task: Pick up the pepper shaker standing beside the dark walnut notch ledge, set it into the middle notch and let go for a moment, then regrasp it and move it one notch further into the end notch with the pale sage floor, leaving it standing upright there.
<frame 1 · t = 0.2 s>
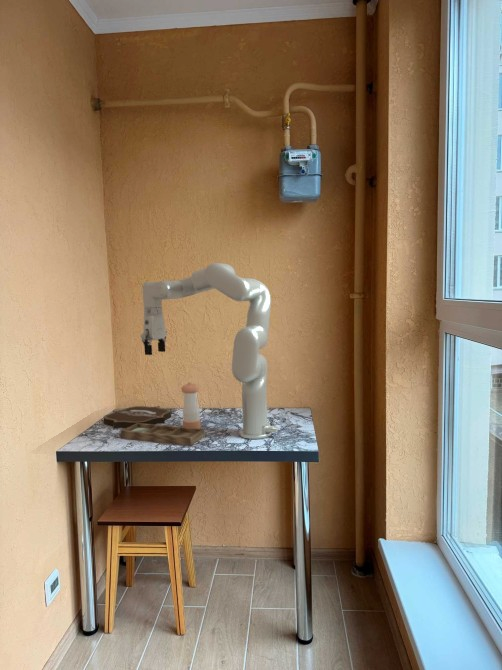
hand: (155, 353, 193), 31 cm above the table, fingers open, 9 cm apart
decorative plaque: (138, 420, 206), on the table
pepper shaker: (191, 428, 190), on the table
notch ledge: (162, 437, 179), on the table
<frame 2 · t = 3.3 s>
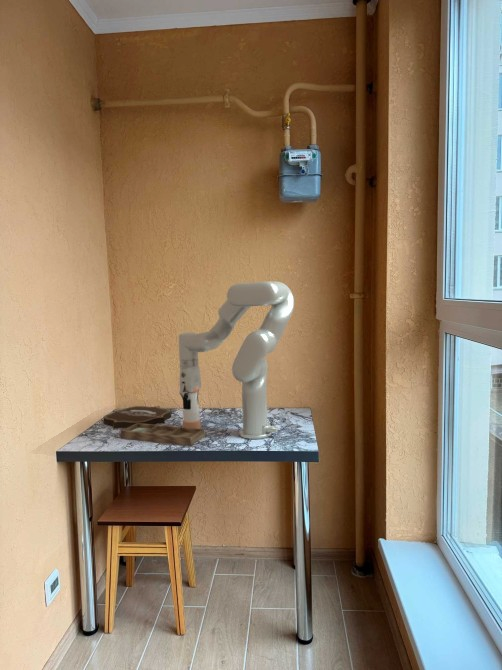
hand: (190, 406, 189), 9 cm above the table, fingers closed on pepper shaker, 5 cm apart
pepper shaker: (191, 428, 190), on the table, touching gripper
everything else where it was.
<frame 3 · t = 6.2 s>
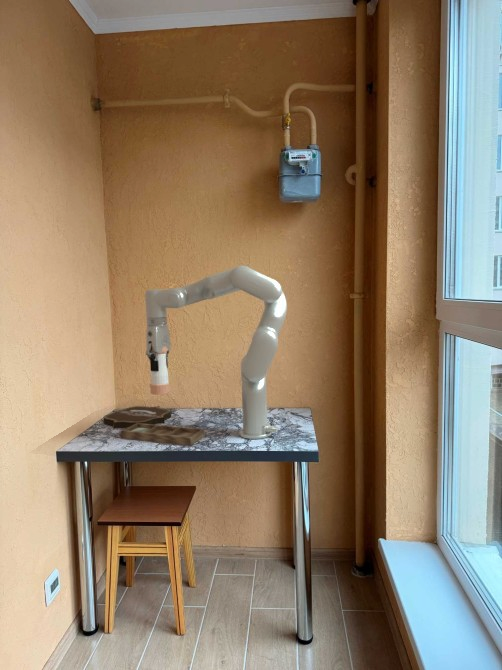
hand: (159, 369, 176), 27 cm above the table, fingers closed on pepper shaker, 5 cm apart
pepper shaker: (160, 393, 177), point 18 cm above the table, touching gripper
everything else where it was.
when the fingers open (11 cm above the table, at t = 9.3 s): pepper shaker stays where it is, resting on notch ledge.
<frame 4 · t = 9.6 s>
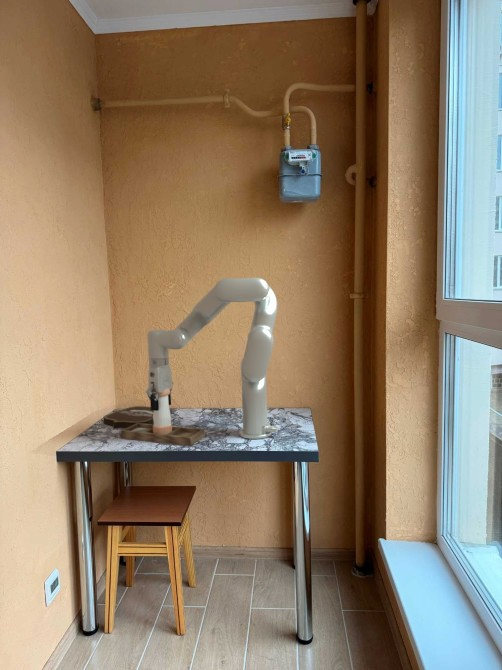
hand: (161, 407, 178), 12 cm above the table, fingers open, 8 cm apart
pepper shaker: (162, 434, 179), point 1 cm above the table, touching notch ledge
everything else where it was.
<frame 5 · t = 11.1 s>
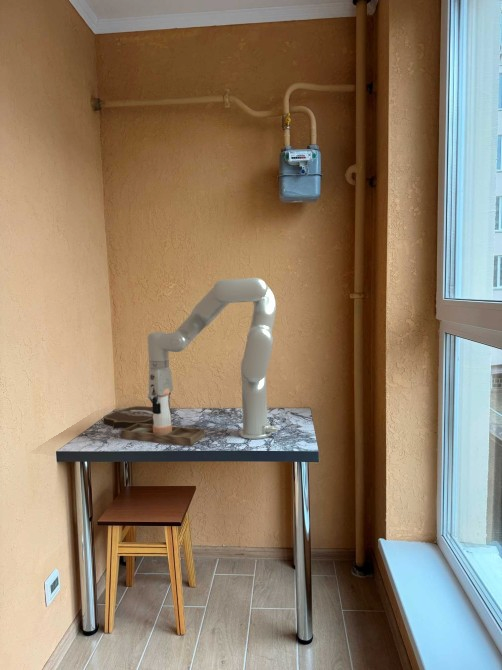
hand: (161, 410, 178), 11 cm above the table, fingers closed on pepper shaker, 5 cm apart
pepper shaker: (162, 434, 179), point 1 cm above the table, touching gripper, notch ledge
everything else where it was.
when the fingers open (11 cm above the table, at t = 16.8 s): pepper shaker stays where it is, resting on notch ledge.
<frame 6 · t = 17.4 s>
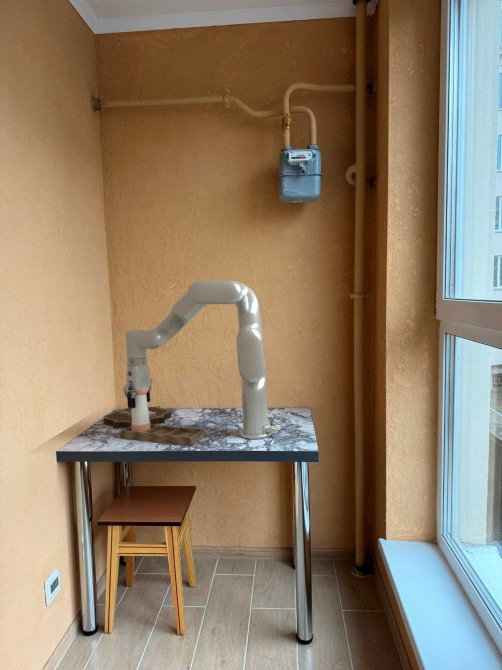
hand: (139, 404, 181), 12 cm above the table, fingers open, 9 cm apart
pepper shaker: (141, 431, 182), point 1 cm above the table, touching notch ledge
everything else where it was.
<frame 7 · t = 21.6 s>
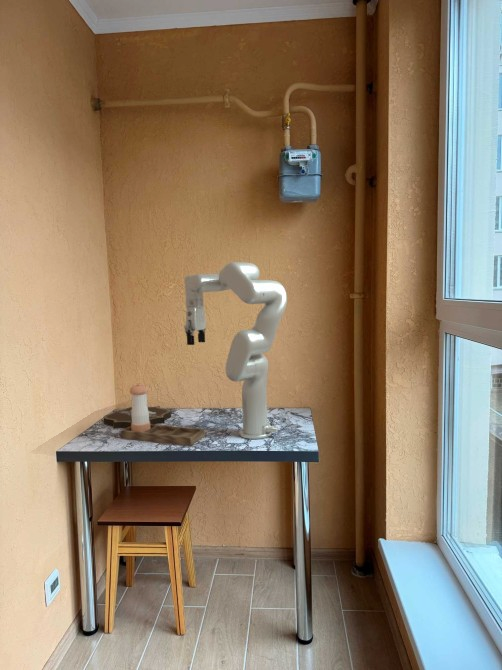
hand: (196, 343, 201), 33 cm above the table, fingers open, 9 cm apart
nothing on the table moved.
at the end: pepper shaker 0.1 cm from the target spot on the notch ledge, point 1.4 cm above the notch ledge's base; pepper shaker tilted 0°; the gripper is holding nothing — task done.
